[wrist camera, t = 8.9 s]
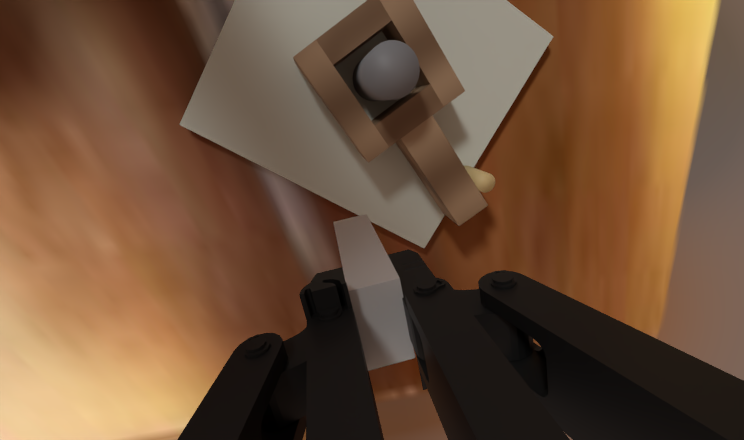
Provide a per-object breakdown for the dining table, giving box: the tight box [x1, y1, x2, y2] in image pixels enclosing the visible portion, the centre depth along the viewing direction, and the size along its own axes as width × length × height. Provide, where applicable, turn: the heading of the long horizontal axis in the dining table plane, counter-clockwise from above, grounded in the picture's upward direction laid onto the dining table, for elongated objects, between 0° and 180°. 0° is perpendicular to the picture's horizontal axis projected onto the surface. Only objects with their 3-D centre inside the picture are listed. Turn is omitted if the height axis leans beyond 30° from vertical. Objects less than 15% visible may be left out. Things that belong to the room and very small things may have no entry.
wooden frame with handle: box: [293, 0, 488, 226], centre depth 31 cm, size 18×9×4 cm, turn 35°
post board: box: [180, 0, 553, 248], centre depth 29 cm, size 24×22×9 cm
